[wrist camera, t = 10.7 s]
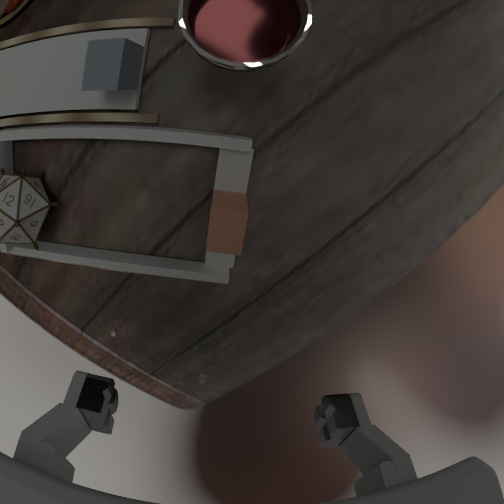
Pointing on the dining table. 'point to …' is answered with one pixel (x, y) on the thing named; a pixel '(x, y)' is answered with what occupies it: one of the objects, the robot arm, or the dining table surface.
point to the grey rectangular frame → (221, 215)
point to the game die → (22, 208)
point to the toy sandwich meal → (10, 9)
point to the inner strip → (74, 72)
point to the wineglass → (244, 30)
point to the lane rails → (86, 115)
